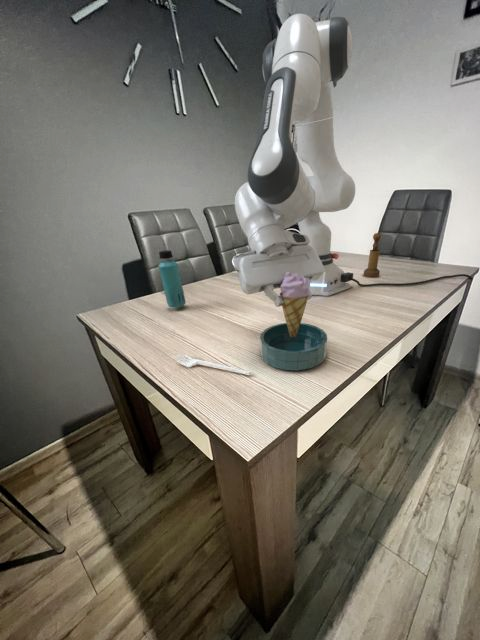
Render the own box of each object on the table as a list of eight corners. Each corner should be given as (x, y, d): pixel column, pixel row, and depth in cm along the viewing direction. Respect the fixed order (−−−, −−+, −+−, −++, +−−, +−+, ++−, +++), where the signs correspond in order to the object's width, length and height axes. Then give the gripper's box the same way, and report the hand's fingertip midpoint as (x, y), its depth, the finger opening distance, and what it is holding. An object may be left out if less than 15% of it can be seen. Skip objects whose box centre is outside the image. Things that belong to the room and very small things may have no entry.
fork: (247, 380, 58) (246, 372, 57) (172, 363, 66) (171, 357, 65) (253, 371, 61) (252, 364, 60) (181, 357, 68) (179, 350, 67)
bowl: (301, 334, 76) (301, 317, 73) (339, 359, 64) (341, 340, 61) (250, 349, 70) (249, 332, 67) (282, 380, 58) (282, 360, 55)
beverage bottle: (182, 311, 96) (169, 252, 86) (164, 311, 97) (150, 252, 87) (189, 305, 101) (179, 248, 91) (173, 305, 103) (161, 249, 93)
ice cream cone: (274, 332, 66) (273, 269, 58) (297, 327, 68) (299, 265, 61) (287, 343, 60) (288, 275, 53) (311, 338, 62) (315, 271, 55)
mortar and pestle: (364, 277, 121) (370, 234, 112) (362, 274, 127) (367, 232, 118) (380, 277, 120) (387, 233, 111) (377, 274, 126) (384, 231, 117)
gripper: (232, 245, 55) (256, 304, 53) (313, 234, 63) (338, 285, 61) (226, 263, 61) (248, 318, 58) (301, 252, 69) (324, 299, 66)
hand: (294, 301), depth 59 cm, fingers closed on ice cream cone, 6 cm apart
